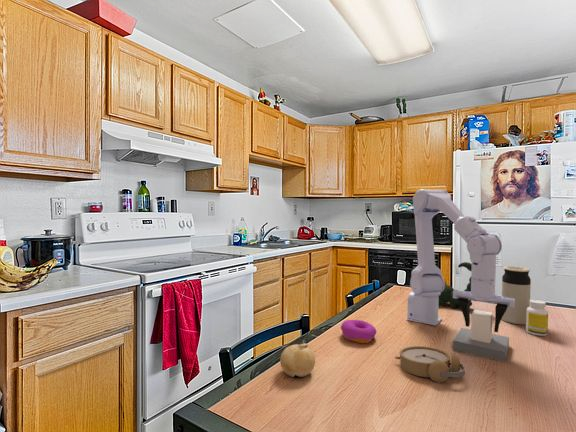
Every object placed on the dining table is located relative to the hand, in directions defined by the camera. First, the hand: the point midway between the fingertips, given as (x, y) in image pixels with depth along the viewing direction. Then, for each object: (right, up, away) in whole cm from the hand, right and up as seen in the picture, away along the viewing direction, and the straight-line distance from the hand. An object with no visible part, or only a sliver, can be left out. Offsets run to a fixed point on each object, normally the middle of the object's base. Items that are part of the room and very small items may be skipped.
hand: (481, 328), depth 94 cm
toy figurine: (+9, -4, +41) cm, 42 cm away
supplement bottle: (+23, -5, +12) cm, 27 cm away
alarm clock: (-19, -6, -13) cm, 24 cm away
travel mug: (+24, -5, +22) cm, 33 cm away
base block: (0, -5, 0) cm, 5 cm away
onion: (-51, -6, -15) cm, 53 cm away
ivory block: (0, -3, 0) cm, 3 cm away
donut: (-32, -5, +7) cm, 34 cm away
